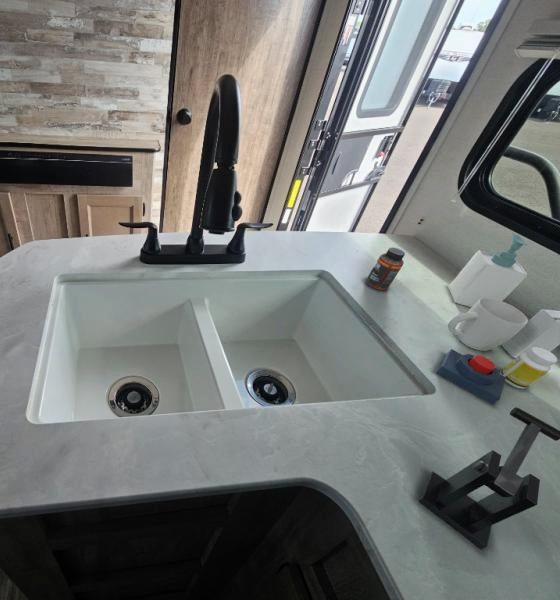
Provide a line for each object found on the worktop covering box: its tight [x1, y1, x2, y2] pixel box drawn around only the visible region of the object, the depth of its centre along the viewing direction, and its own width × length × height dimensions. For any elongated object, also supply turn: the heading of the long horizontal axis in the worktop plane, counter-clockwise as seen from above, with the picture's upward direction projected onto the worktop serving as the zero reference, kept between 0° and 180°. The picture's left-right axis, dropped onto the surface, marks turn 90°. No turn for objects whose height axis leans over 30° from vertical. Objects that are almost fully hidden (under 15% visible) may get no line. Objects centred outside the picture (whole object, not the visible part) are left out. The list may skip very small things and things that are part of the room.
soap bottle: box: [448, 232, 529, 308], centre depth 87 cm, size 9×9×19 cm
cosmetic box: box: [501, 308, 560, 359], centre depth 74 cm, size 6×4×12 cm
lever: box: [484, 406, 560, 497], centre depth 44 cm, size 12×5×2 cm, turn 132°
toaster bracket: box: [418, 450, 541, 550], centre depth 45 cm, size 6×8×12 cm
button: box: [469, 354, 496, 374], centre depth 67 cm, size 4×4×2 cm
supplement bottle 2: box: [499, 347, 559, 389], centre depth 68 cm, size 5×5×8 cm
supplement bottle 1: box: [365, 247, 406, 291], centre depth 91 cm, size 6×6×11 cm
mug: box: [447, 298, 529, 352], centre depth 76 cm, size 13×9×10 cm
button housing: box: [435, 348, 506, 405], centre depth 69 cm, size 8×10×4 cm
